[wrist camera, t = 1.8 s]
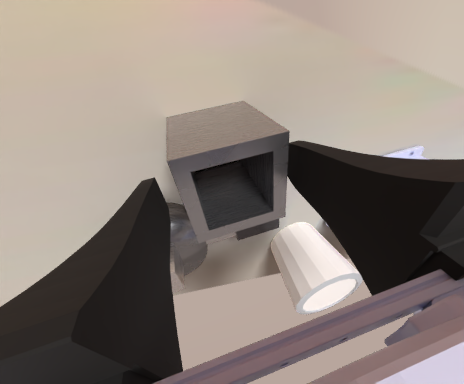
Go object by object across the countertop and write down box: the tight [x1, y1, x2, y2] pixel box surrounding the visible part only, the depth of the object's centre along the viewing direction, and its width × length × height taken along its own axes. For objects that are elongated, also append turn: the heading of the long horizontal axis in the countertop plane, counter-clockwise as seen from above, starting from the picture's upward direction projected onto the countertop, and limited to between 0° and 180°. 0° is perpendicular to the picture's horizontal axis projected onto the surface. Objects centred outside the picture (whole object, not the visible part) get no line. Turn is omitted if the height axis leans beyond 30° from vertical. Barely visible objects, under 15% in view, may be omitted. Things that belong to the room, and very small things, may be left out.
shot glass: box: [271, 222, 363, 314], centre depth 21 cm, size 7×7×7 cm
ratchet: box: [166, 202, 279, 293], centre depth 16 cm, size 14×7×5 cm, turn 98°
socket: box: [167, 101, 289, 243], centre depth 11 cm, size 5×5×6 cm
